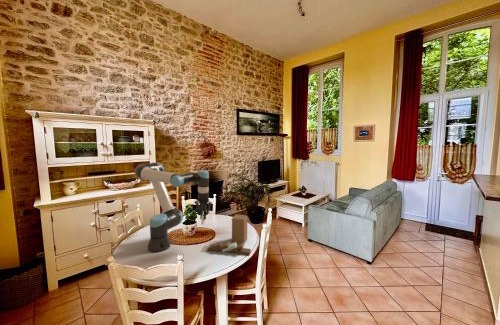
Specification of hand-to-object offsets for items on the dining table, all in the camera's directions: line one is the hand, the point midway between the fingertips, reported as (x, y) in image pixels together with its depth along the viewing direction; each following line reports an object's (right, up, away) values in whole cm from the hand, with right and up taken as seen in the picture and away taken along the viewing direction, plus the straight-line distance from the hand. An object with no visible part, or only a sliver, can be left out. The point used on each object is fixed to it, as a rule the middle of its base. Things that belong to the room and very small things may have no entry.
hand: (203, 223), depth 154 cm
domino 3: (+20, -17, -5) cm, 27 cm away
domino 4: (+25, -17, -5) cm, 31 cm away
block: (+26, -17, +12) cm, 33 cm away
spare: (+15, -17, -4) cm, 23 cm away
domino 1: (+5, -17, -2) cm, 18 cm away
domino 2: (+10, -17, -3) cm, 20 cm away
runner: (+14, -18, -4) cm, 23 cm away
